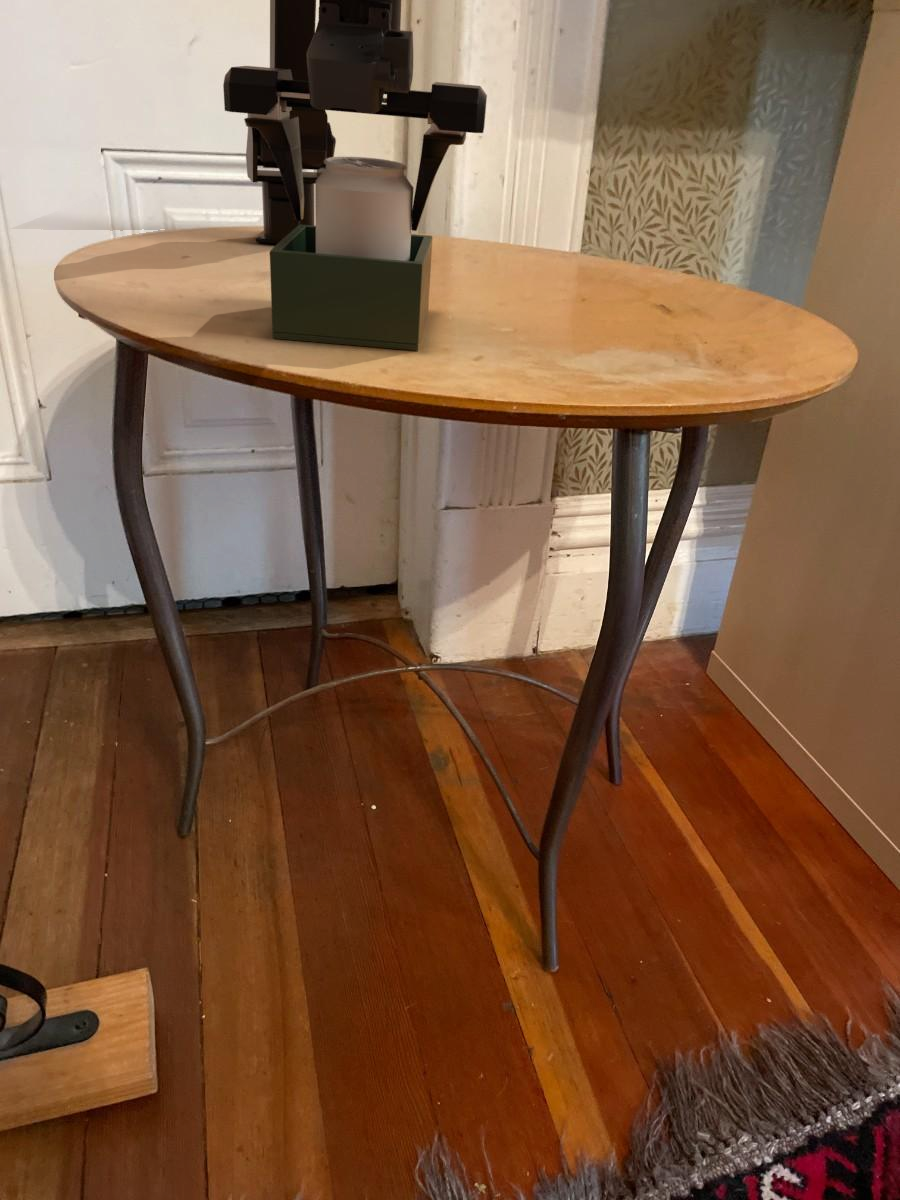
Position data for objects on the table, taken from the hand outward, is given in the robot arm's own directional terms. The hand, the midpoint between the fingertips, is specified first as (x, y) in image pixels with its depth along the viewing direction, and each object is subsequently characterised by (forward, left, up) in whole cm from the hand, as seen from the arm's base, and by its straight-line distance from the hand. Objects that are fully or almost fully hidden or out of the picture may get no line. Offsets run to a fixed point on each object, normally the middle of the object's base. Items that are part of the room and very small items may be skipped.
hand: (357, 224), depth 70 cm
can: (0, 0, -8) cm, 8 cm away
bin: (0, 0, -8) cm, 8 cm away
